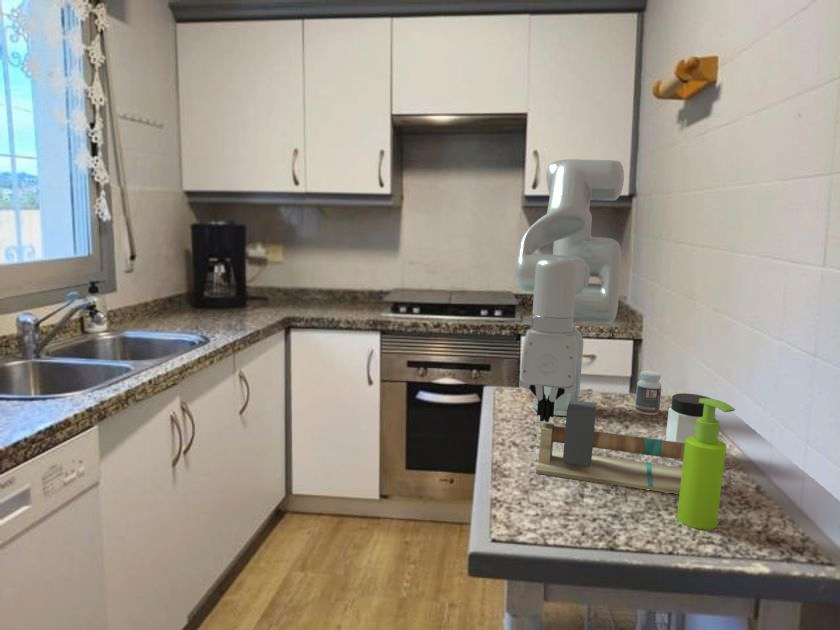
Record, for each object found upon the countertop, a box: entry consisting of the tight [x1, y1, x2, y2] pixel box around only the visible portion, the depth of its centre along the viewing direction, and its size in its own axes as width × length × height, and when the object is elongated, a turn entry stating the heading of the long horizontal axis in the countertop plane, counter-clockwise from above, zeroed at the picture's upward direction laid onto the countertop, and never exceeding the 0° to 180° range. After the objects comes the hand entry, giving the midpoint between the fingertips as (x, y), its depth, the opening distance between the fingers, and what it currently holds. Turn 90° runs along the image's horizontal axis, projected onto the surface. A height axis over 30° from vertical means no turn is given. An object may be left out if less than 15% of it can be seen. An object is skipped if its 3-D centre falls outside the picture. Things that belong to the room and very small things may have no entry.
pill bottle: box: [634, 370, 662, 416], centre depth 164 cm, size 6×6×10 cm
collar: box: [563, 400, 597, 467], centre depth 125 cm, size 8×5×10 cm, turn 163°
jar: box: [665, 392, 717, 462], centre depth 135 cm, size 9×8×12 cm
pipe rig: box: [535, 420, 685, 495], centre depth 123 cm, size 12×30×8 cm, turn 73°
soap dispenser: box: [676, 397, 736, 530], centre depth 104 cm, size 6×7×20 cm
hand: (544, 419), depth 127 cm, fingers closed
